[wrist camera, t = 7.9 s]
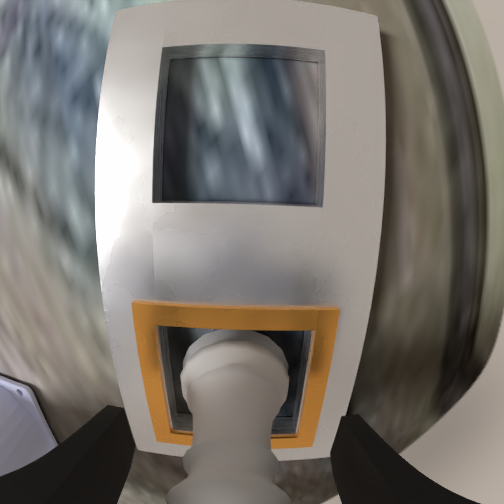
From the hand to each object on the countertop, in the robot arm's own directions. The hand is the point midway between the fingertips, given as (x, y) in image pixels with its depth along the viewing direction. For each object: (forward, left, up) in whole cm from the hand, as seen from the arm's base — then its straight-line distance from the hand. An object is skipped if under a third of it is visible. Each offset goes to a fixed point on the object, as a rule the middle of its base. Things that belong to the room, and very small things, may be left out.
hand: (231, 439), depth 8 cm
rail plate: (0, +5, -4) cm, 6 cm away
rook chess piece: (0, 0, -4) cm, 4 cm away
